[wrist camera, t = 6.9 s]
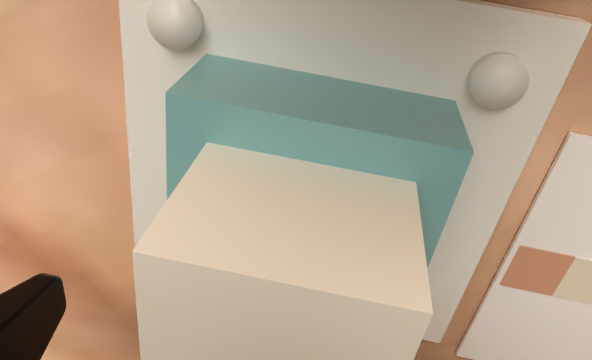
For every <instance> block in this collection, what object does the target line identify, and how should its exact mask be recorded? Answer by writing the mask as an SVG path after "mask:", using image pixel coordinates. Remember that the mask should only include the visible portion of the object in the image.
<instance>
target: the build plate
mask: <svg viewBox="0 0 592 360" xmlns="http://www.w3.org/2000/svg"><path fill="white" fill-rule="evenodd" d="M119 12H120V28H121V43H122V58H123V74H124V89H125V105H126V120H127V136H128V151H129V167H130V182H131V197H132V213H133V228H134V244H135V247H136V245H137V244H138V242H139V241H140V239H141V238H142V236H143V235H144V233H145V232H146V230H147V229H148V228H149V226H150V225H151V223H152V222H153V220H154V219H155V217H156V216H157V214H158V213H159V212H160V210H161V209H162V207H163V206H164V204H165V203H166V201H167V200H168V198H169V197H170V195H171V194H172V193H173V191H174V190H175V188H176V187H177V185H178V184H179V182H180V181H181V179H182V178H183V176H184V175H185V174H186V172H187V171H188V169H189V168H190V166H191V165H192V163H193V162H194V160H195V159H196V158H197V156H198V155H199V153H200V152H201V150H202V149H203V147H204V146H205V144H206V143H207V142H209V143H214V144H219V145H225V146H230V147H235V148H240V149H245V150H251V151H256V152H261V153H266V154H271V155H277V156H282V157H287V158H292V159H298V160H303V161H308V162H313V163H318V164H324V165H329V166H334V167H339V168H345V169H350V170H355V171H360V172H365V173H371V174H376V175H381V176H386V177H392V178H397V179H402V180H407V181H412V182H416V184H417V192H418V200H419V208H420V215H421V223H422V231H423V239H424V247H425V254H426V262H427V270H428V278H429V286H430V294H431V301H432V309H433V316H432V318H431V320H430V323H429V325H428V327H427V330H426V332H425V334H424V337H423V339H422V340H427V341H432V342H436V343H440V342H441V340H442V338H443V336H444V334H445V332H446V330H447V328H448V325H449V323H450V321H451V319H452V317H453V315H454V313H455V311H456V309H457V307H458V304H459V302H460V300H461V298H462V296H463V294H464V292H465V290H466V288H467V286H468V284H469V281H470V279H471V277H472V275H473V273H474V271H475V269H476V267H477V265H478V263H479V260H480V258H481V256H482V254H483V252H484V250H485V248H486V246H487V244H488V242H489V239H490V237H491V235H492V233H493V231H494V229H495V227H496V225H497V223H498V221H499V219H500V216H501V214H502V212H503V210H504V208H505V206H506V204H507V202H508V200H509V198H510V195H511V193H512V191H513V189H514V187H515V185H516V183H517V181H518V179H519V177H520V175H521V172H522V170H523V168H524V166H525V164H526V162H527V160H528V158H529V156H530V154H531V151H532V149H533V147H534V145H535V143H536V141H537V139H538V137H539V135H540V133H541V130H542V128H543V126H544V124H545V122H546V120H547V118H548V116H549V114H550V112H551V110H552V107H553V105H554V103H555V101H556V99H557V97H558V95H559V93H560V91H561V89H562V86H563V84H564V82H565V80H566V78H567V76H568V74H569V72H570V70H571V68H572V66H573V63H574V61H575V59H576V57H577V55H578V53H579V51H580V49H581V47H582V45H583V42H584V40H585V38H586V36H587V34H588V32H589V30H590V28H591V26H592V24H591V23H589V22H588V21H586V20H584V19H582V18H577V17H571V16H565V15H560V14H554V13H548V12H543V11H537V10H532V9H526V8H520V7H515V6H509V5H503V4H498V3H492V2H486V1H481V0H119Z"/></svg>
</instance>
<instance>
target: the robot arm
mask: <svg viewBox="0 0 592 360" xmlns="http://www.w3.org/2000/svg"><path fill="white" fill-rule="evenodd" d="M65 309H66V298H65V293H64V287H63V282H62V279H61V278H60V277H59V276H55V275H50V274H46V273H41V274H37V275H35V276H33V277H32V278H30V279H28V280H26V281H24V282H22V283H20V284H19V285H17V286H15V287H13V288H11V289H9V290H7V291H6V292H4V293H2V294H0V360H40V359H41V357H42V355H43V353H44V352H45V350H46V348H47V346H48V344H49V342H50V340H51V338H52V336H53V334H54V332H55V330H56V328H57V326H58V324H59V322H60V321H61V319H62V317H63V315H64V312H65Z"/></svg>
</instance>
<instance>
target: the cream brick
mask: <svg viewBox="0 0 592 360" xmlns="http://www.w3.org/2000/svg"><path fill="white" fill-rule="evenodd" d="M132 258H133V270H134V283H135V295H136V308H137V320H138V333H139V345H140V358H141V360H414V358H415V355H416V353H417V351H418V348H419V346H420V344H421V341H422V339H423V337H424V334H425V332H426V330H427V327H428V325H429V323H430V320H431V318H432V316H433V309H432V301H431V294H430V286H429V278H428V270H427V262H426V254H425V247H424V239H423V231H422V223H421V215H420V208H419V200H418V192H417V184H416V182H412V181H407V180H402V179H397V178H392V177H386V176H381V175H376V174H371V173H365V172H360V171H355V170H350V169H345V168H339V167H334V166H329V165H324V164H318V163H313V162H308V161H303V160H298V159H292V158H287V157H282V156H277V155H271V154H266V153H261V152H256V151H251V150H245V149H240V148H235V147H230V146H225V145H219V144H214V143H209V142H207V143H206V144H205V146H204V147H203V149H202V150H201V152H200V153H199V155H198V156H197V158H196V159H195V160H194V162H193V163H192V165H191V166H190V168H189V169H188V171H187V172H186V174H185V175H184V176H183V178H182V179H181V181H180V182H179V184H178V185H177V187H176V188H175V190H174V191H173V193H172V194H171V195H170V197H169V198H168V200H167V201H166V203H165V204H164V206H163V207H162V209H161V210H160V212H159V213H158V214H157V216H156V217H155V219H154V220H153V222H152V223H151V225H150V226H149V228H148V229H147V230H146V232H145V233H144V235H143V236H142V238H141V239H140V241H139V242H138V244H137V245H136V247H135V248H134V249H133V251H132Z"/></svg>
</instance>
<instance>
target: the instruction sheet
mask: <svg viewBox="0 0 592 360" xmlns="http://www.w3.org/2000/svg"><path fill="white" fill-rule="evenodd" d="M455 353H456V356H459V357H464V358H468V359H473V360H592V136H588V135H583V134H578V133H573V132H568V134H567V136H566V138H565V140H564V142H563V144H562V146H561V148H560V150H559V152H558V154H557V156H556V158H555V160H554V162H553V164H552V166H551V167H550V169H549V171H548V173H547V175H546V177H545V179H544V181H543V183H542V185H541V187H540V189H539V191H538V193H537V195H536V197H535V199H534V201H533V203H532V204H531V206H530V208H529V210H528V212H527V214H526V216H525V218H524V220H523V222H522V224H521V226H520V228H519V230H518V232H517V234H516V236H515V238H514V240H513V241H512V243H511V245H510V247H509V249H508V251H507V253H506V255H505V257H504V259H503V261H502V263H501V265H500V267H499V269H498V271H497V273H496V275H495V276H494V278H493V280H492V282H491V284H490V286H489V288H488V290H487V292H486V294H485V296H484V298H483V300H482V302H481V304H480V306H479V308H478V310H477V312H476V313H475V315H474V317H473V319H472V321H471V323H470V325H469V327H468V329H467V331H466V333H465V335H464V337H463V339H462V341H461V343H460V345H459V347H458V349H457V350H456V352H455Z"/></svg>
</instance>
